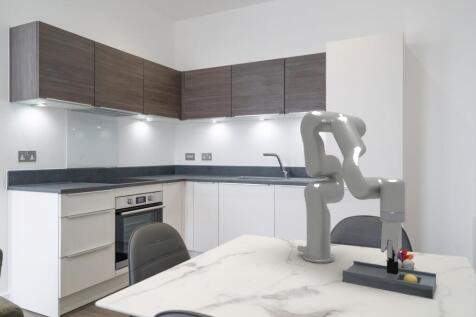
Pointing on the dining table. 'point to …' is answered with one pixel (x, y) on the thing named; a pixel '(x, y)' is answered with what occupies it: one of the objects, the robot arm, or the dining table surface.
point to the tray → (390, 279)
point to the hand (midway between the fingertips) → (392, 273)
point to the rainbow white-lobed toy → (405, 260)
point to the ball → (410, 278)
